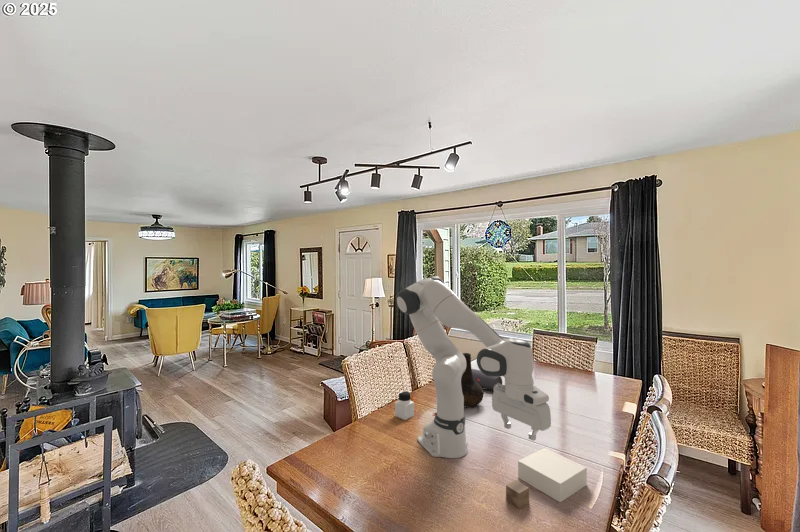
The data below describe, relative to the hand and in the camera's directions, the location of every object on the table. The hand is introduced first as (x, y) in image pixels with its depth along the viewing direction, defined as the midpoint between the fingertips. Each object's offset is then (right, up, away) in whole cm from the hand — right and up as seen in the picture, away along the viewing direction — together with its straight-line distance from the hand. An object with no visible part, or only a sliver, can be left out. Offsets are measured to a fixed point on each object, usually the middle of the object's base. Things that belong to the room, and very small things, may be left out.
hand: (519, 433), depth 112 cm
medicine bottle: (-36, -22, +64) cm, 77 cm away
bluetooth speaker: (+14, -23, +107) cm, 110 cm away
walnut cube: (-1, -22, 0) cm, 22 cm away
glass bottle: (-2, -23, +79) cm, 82 cm away
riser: (+15, -22, +11) cm, 29 cm away
